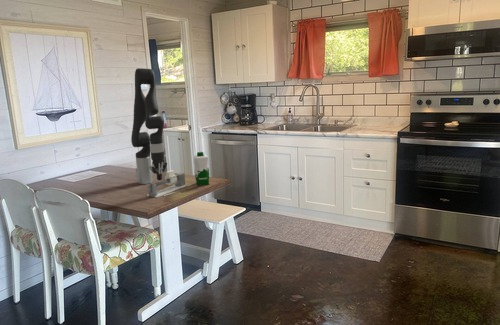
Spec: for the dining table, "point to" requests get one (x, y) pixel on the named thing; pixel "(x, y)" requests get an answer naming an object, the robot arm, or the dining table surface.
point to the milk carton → (201, 169)
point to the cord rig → (178, 185)
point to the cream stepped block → (171, 177)
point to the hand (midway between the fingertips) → (159, 180)
